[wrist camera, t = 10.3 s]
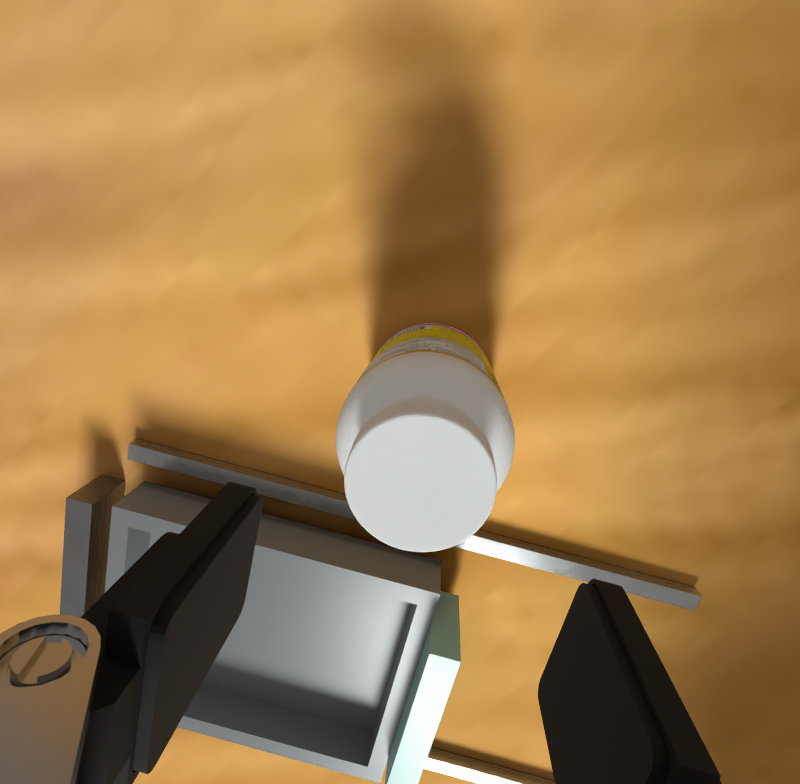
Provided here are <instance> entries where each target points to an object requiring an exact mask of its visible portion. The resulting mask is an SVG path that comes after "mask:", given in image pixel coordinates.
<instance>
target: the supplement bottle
mask: <svg viewBox="0 0 800 784" xmlns="http://www.w3.org/2000/svg"><path fill="white" fill-rule="evenodd" d="M514 445H515V438H514V428H513V422H512V419H511V415H510V412H509V409H508V406H507V404H506V402H505V400H504V397H503V395H502V393H501V390H500V387H499V385H498V383H497V380H496V378H495V375H494V372H493V370H492V367H491V365H490V363H489V361H488V359H487V357H486V355H485V353H484V352H483V350H482V349H481V347H480V346H479V345H478V344H477V343H476V342H475V341H474V340H473V339H472V338H471V337H470V336H468V335H467V334H465V333H464V332H462V331H460V330H458V329H456V328H454V327H451V326H447V325H443V324H437V323H425V324H418V325H414V326H411V327H408V328H406V329H403V330H401V331H399V332H398V333H396V334H395V335H393V336H392V337H391V338H390V339H388V340H387V341H386V342H385V343H384V344H383V346H382V347H381V348H380V349H379V350H378V352H377V353H376V355H375V356H374V358H373V359H372V361H371V362H370V364H369V365H368V367H367V368H366V370H365V371H364V373H363V374H362V376H361V377H360V378H359V380H358V381H357V383H356V384H355V386H354V387H353V388H352V390H351V392H350V393H349V395H348V397H347V398H346V400H345V402H344V404H343V406H342V409H341V411H340V414H339V418H338V422H337V427H336V450H337V456H338V460H339V464H340V467H341V470H342V472H343V474H344V487H345V494H346V498H347V501H348V504H349V506H350V509H351V511H352V512H353V514H354V516H355V517H356V519H357V520H358V522H359V523H360V524H361V525H362V526H363V527H364V528H365V529H366V530H367V531H368V532H369V533H370V534H371V535H373V536H374V537H375V538H377V539H378V540H380V541H382V542H383V543H385V544H387V545H390V546H392V547H395V548H398V549H401V550H406V551H413V552H434V551H439V550H444V549H448V548H450V547H453V546H455V545H458V544H459V543H461V542H463V541H465V540H466V539H468V538H469V537H470V536H472V535H473V534H474V533H475V532H476V531H477V530H478V529H479V528H480V527H481V526H482V525H483V524H484V522H485V521H486V519H487V518H488V516H489V514H490V512H491V510H492V508H493V505H494V502H495V498H496V492H497V491H498V490H499V488H500V487H501V485H502V484H503V482H504V480H505V478H506V476H507V474H508V472H509V469H510V466H511V463H512V460H513V454H514Z"/></svg>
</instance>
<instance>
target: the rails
mask: <svg viewBox="0 0 800 784" xmlns="http://www.w3.org/2000/svg"><path fill="white" fill-rule="evenodd" d="M128 459H129V460H133V461H136V462H140V463H144V464H148V465H151V466H155V467H159V468H163V469H166V470H170V471H174V472H178V473H181V474H185V475H189V476H193V477H196V478H200V479H204V480H208V481H211V482H215V483H219V484H222V485H226V484H227V483H228V482H234V483H238V484H242V485H246V486H249V487H253V488H255V489H256V494H260V495H264V496H267V497H271V498H275V499H279V500H282V501H286V502H290V503H294V504H297V505H301V506H305V507H309V508H312V509H316V510H320V511H324V512H327V513H331V514H335V515H338V516H342V517H346V518H350V519H353V520H357V519H356V517H355V516H354V514H353V512H352V511H351V509H350V506H349V504H348V501H347V498H346V494H342V493H339V492H335V491H331V490H327V489H324V488H320V487H316V486H312V485H309V484H305V483H301V482H297V481H294V480H290V479H286V478H282V477H279V476H275V475H271V474H267V473H263V472H260V471H256V470H252V469H248V468H245V467H241V466H237V465H233V464H230V463H226V462H222V461H218V460H215V459H211V458H207V457H203V456H200V455H196V454H192V453H188V452H185V451H181V450H177V449H173V448H170V447H166V446H162V445H158V444H155V443H151V442H147V441H143V440H140V439H136V440H135V441H133V442H131V443H130V444H129V450H128ZM124 487H125V481H124V480H120V479H116V478H112V477H109V476H105V475H100V476H99V477H97V478H96V479H94V480H93V481H91V482H90V483H88V484H87V485H85V486H84V487H82V488H80V489H79V490H77V491H76V492H74V493H73V494H71V495H70V496H68V497H67V498H66V513H65V531H64V549H63V567H62V585H61V603H60V615H72V616H76V617H79V618H80V617H81V616H82V615H83V614H84V613H85V612H86V611H87V610H88V609H89V608H90V607H91V606H92V605H93V604H94V603H95V602H96V601H97V600H98V599H99V598H100V597H101V596H102V595H103V594H104V593H105V583H106V571H107V560H108V548H109V536H110V525H111V513H112V506H113V505H114V504H115V503H117V502H118V501H119V500H121V499H122V498H123V497H124ZM357 521H358V520H357ZM454 547H458V548H462V549H466V550H469V551H473V552H477V553H481V554H484V555H488V556H492V557H496V558H499V559H503V560H507V561H511V562H514V563H518V564H522V565H526V566H529V567H533V568H537V569H541V570H544V571H548V572H552V573H556V574H559V575H563V576H567V577H570V578H574V579H578V580H582V581H585V582H589V581H590V580H591V579H598V580H601V581H605V582H609V583H613V584H616V585H620V586H622V588H623V589H624V591H625V592H627V593H630V594H634V595H638V596H642V597H645V598H649V599H653V600H657V601H660V602H664V603H668V604H672V605H675V606H679V607H683V608H686V609H690V610H694V611H695V609H696V607H697V605H698V603H699V601H700V599H701V597H702V596H701V595H700V593H699V592H698V590H697V589H696V588H695V587H692V586H688V585H684V584H680V583H677V582H673V581H669V580H665V579H662V578H658V577H654V576H650V575H646V574H643V573H639V572H635V571H631V570H628V569H624V568H620V567H616V566H613V565H609V564H605V563H601V562H598V561H594V560H590V559H586V558H583V557H579V556H575V555H571V554H568V553H564V552H560V551H556V550H553V549H549V548H545V547H541V546H538V545H534V544H530V543H526V542H523V541H519V540H515V539H511V538H508V537H504V536H500V535H496V534H493V533H489V532H485V531H481V530H477V531H476V532H475V533H474V534H473V535H472V536H470V537H469V538H468V539H466V540H465V541H463V542H461V543H459V544H458V545H455V546H454ZM424 769H428V770H432V771H435V772H439V773H442V774H446V775H450V776H453V777H457V778H460V779H464V780H468V781H471V782H475V783H479V784H555V781H552V780H548V779H545V778H541V777H537V776H534V775H530V774H526V773H523V772H519V771H516V770H512V769H508V768H505V767H501V766H497V765H494V764H490V763H487V762H483V761H479V760H476V759H472V758H468V757H465V756H461V755H458V754H454V753H450V752H447V751H443V750H439V749H436V748H432V747H431V748H430V751H429V754H428V757H427V760H426V763H425V765H424Z"/></svg>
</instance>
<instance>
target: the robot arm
mask: <svg viewBox="0 0 800 784" xmlns="http://www.w3.org/2000/svg"><path fill="white" fill-rule="evenodd" d="M262 506H263V497H260V496H256V489H255V488H253V487H249V486H246V485H242V484H238V483H234V482H228V483H227V484H226V485H225V486H224V487H223V488H222V489H221V490H220V492H219V493H218V494H217V495H216V496H215V497H214V498H213V499H212V500H211V501H210V502H209V503H208V504H207V505H206V506H205V507H204V509H203V510H202V511H201V512H200V513H199V514H198V515H197V516H196V517H195V518H194V519H193V520H192V521H191V522H190V523H189V524H188V526H187V527H186V528H185V529H184V530H183V531H182V532H181V533H180V534H177V533H173V532H167V533H165V534H164V535H162V536H161V537H160V538H159V539H158V540H157V541H156V542H155V543H154V544H153V545H152V546H151V547H150V548H149V549H148V550H147V551H146V552H145V553H144V554H143V555H142V556H141V557H140V558H139V559H138V560H137V561H136V562H135V563H134V564H133V565H132V566H131V567H130V568H129V569H128V570H127V571H126V572H125V573H124V574H123V575H122V576H121V577H120V578H119V579H118V580H117V581H116V582H115V583H114V584H113V585H112V586H111V587H110V588H109V589H108V590H107V591H106V592H105V593H104V594H103V595H102V596H101V597H100V598H99V599H98V600H97V601H96V602H95V603H94V604H93V605H92V606H91V607H90V608H89V609H88V610H87V611H86V612H85V613H84V614H83V615H82V616H81V617H80V618H79V617H76V616H72V615H49V616H42V617H37V618H34V619H31V620H28V621H25V622H22V623H19V624H17V625H15V626H13V627H11V628H10V629H8V630H6V631H4V632H2V633H1V634H0V784H133V782H134V780H135V779H136V777H137V775H138V773H139V772H142V773H146V774H149V773H150V772H151V771H152V769H153V768H154V766H155V765H156V763H157V761H158V759H159V758H160V756H161V754H162V752H163V751H164V749H165V747H166V745H167V744H168V742H169V740H170V738H171V737H172V735H173V733H174V731H175V729H176V728H177V726H178V724H179V722H180V721H181V719H182V717H183V715H184V714H185V712H186V710H187V708H188V707H189V705H190V703H191V701H192V699H193V698H194V696H195V694H196V692H197V691H198V689H199V687H200V685H201V684H202V682H203V680H204V678H205V676H206V675H207V673H208V671H209V669H210V668H211V666H212V664H213V662H214V661H215V659H216V657H217V655H218V654H219V652H220V650H221V648H222V646H223V645H224V643H225V641H226V639H227V638H228V636H229V634H230V632H231V631H232V629H233V627H234V625H235V624H236V622H237V620H238V618H239V616H240V614H241V612H242V609H243V606H244V603H245V598H246V593H247V587H248V582H249V577H250V571H251V566H252V560H253V555H254V549H255V544H256V539H257V533H258V528H259V522H260V517H261V511H262ZM538 699H539V705H540V710H541V715H542V720H543V725H544V730H545V735H546V740H547V745H548V750H549V755H550V760H551V765H552V769H553V774H554V779H555V784H722V783H721V781H720V780H719V779H720V777H721V776H720V774H719V772H718V770H717V768H716V766H715V764H714V762H713V760H712V759H711V757H710V755H709V753H708V751H707V749H706V747H705V745H704V743H703V741H702V739H701V737H700V735H699V733H698V731H697V730H696V728H695V726H694V724H693V722H692V720H691V718H690V716H689V714H688V712H687V710H686V708H685V706H684V704H683V703H682V701H681V699H680V697H679V695H678V693H677V691H676V689H675V687H674V685H673V683H672V681H671V679H670V677H669V676H668V674H667V672H666V670H665V668H664V666H663V664H662V662H661V660H660V658H659V656H658V654H657V652H656V650H655V648H654V647H653V645H652V643H651V641H650V639H649V637H648V635H647V633H646V631H645V629H644V627H643V625H642V623H641V621H640V620H639V618H638V616H637V614H636V612H635V610H634V608H633V606H632V604H631V602H630V600H629V598H628V596H627V594H626V593H625V591H624V589H623V588H622V586H620V585H616V584H613V583H609V582H605V581H601V580H598V579H591V580H590V581H589V582H588V584H585V583H582V584H581V585H580V586H579V588H578V590H577V592H576V594H575V597H574V599H573V602H572V604H571V607H570V609H569V611H568V614H567V616H566V619H565V621H564V623H563V626H562V628H561V631H560V633H559V636H558V638H557V640H556V643H555V645H554V648H553V650H552V652H551V655H550V657H549V660H548V662H547V665H546V667H545V669H544V672H543V674H542V677H541V679H540V682H539V688H538Z"/></svg>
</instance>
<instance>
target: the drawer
mask: <svg viewBox="0 0 800 784" xmlns="http://www.w3.org/2000/svg"><path fill="white" fill-rule="evenodd" d="M211 500H212V499H209V498H206V497H202V496H198V495H195V494H191V493H187V492H183V491H180V490H176V489H172V488H168V487H165V486H161V485H157V484H153V483H150V482H146V481H144V482H143V483H142V484H140V485H139V486H138V487H136V488H135V489H134V490H132V491H131V492H130V493H128V494H127V495H126V496H125V497H123V498H122V499H121V500H119V501H118V502H117V503H115V504H114V505H113V506H112V513H111V525H110V536H109V548H108V560H107V571H106V583H105V592H106V591H107V590H108V589H109V588H110V587H111V586H112V585H113V584H114V583H115V582H116V581H117V580H118V579H119V578H120V577H121V576H122V575H123V574H124V573H125V572H126V571H127V570H128V569H129V568H130V567H131V566H132V565H133V564H134V563H135V562H136V561H137V560H138V559H139V558H140V557H141V556H142V555H143V554H144V553H145V552H146V551H147V550H148V549H149V548H150V547H151V546H152V545H153V544H154V543H155V542H156V541H157V540H158V539H159V538H160V537H161V536H162V535H164V534H165V533H167V532H173V533H177V534H180V533H181V532H182V531H183V530H184V529H185V528H186V527H187V526H188V524H189V523H190V522H191V521H192V520H193V519H194V518H195V517H196V516H197V515H198V514H199V513H200V512H201V511H202V510H203V509H204V507H205V506H206V505H207V504H208V503H209V502H210V501H211ZM460 663H461V657H460V625H459V596H458V595H454V594H450V593H446V592H443V591H441V560H437V559H433V558H430V557H426V556H422V555H418V554H415V553H411V552H407V551H404V550H400V549H396V548H392V547H389V546H385V545H381V544H377V543H374V542H370V541H366V540H362V539H359V538H355V537H351V536H348V535H344V534H340V533H336V532H333V531H329V530H325V529H321V528H318V527H314V526H310V525H307V524H303V523H299V522H295V521H292V520H288V519H284V518H280V517H277V516H273V515H269V514H265V513H262V512H261V517H260V522H259V528H258V533H257V539H256V544H255V549H254V555H253V560H252V566H251V571H250V577H249V582H248V587H247V593H246V598H245V603H244V606H243V609H242V612H241V614H240V616H239V618H238V620H237V622H236V624H235V625H234V627H233V629H232V631H231V632H230V634H229V636H228V638H227V639H226V641H225V643H224V645H223V646H222V648H221V650H220V652H219V654H218V655H217V657H216V659H215V661H214V662H213V664H212V666H211V668H210V669H209V671H208V673H207V675H206V676H205V678H204V680H203V682H202V684H201V685H200V687H199V689H198V691H197V692H196V694H195V696H194V698H193V699H192V701H191V703H190V705H189V707H188V708H187V710H186V712H185V714H184V715H183V717H182V719H181V721H180V722H179V724H178V726H177V727H179V728H183V729H186V730H190V731H193V732H197V733H201V734H204V735H208V736H212V737H215V738H219V739H222V740H226V741H230V742H233V743H237V744H240V745H244V746H248V747H251V748H255V749H258V750H262V751H266V752H269V753H273V754H276V755H280V756H284V757H287V758H291V759H294V760H298V761H302V762H305V763H309V764H312V765H316V766H320V767H323V768H327V769H330V770H334V771H338V772H341V773H345V774H348V775H352V776H356V777H359V778H363V779H366V780H370V781H374V782H377V783H380V782H381V779H382V776H383V773H384V770H385V766H386V763H387V770H386V779H385V784H418V782H419V780H420V777H421V774H422V771H423V768H424V765H425V763H426V760H427V757H428V754H429V751H430V748H431V745H432V743H433V740H434V737H435V734H436V731H437V728H438V725H439V723H440V720H441V717H442V714H443V711H444V708H445V705H446V703H447V700H448V697H449V694H450V691H451V688H452V685H453V683H454V680H455V677H456V674H457V671H458V668H459V665H460ZM387 760H388V762H387Z"/></svg>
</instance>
